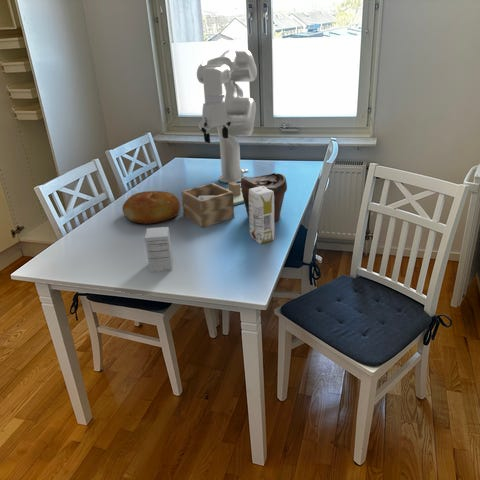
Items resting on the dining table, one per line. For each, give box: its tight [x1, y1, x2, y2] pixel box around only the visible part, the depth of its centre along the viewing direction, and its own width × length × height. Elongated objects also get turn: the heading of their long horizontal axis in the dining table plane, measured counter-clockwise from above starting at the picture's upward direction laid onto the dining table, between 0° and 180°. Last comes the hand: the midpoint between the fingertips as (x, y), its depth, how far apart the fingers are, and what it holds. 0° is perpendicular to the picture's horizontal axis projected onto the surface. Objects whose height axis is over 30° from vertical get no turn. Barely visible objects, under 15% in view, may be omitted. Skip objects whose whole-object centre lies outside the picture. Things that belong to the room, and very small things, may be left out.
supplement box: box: [144, 226, 174, 273], centre depth 144 cm, size 7×7×13 cm
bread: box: [121, 190, 181, 225], centre depth 184 cm, size 23×23×10 cm
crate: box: [180, 182, 235, 229], centre depth 180 cm, size 15×15×11 cm
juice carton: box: [248, 186, 275, 245], centre depth 158 cm, size 8×9×19 cm
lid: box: [226, 182, 244, 206], centre depth 199 cm, size 17×17×6 cm
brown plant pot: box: [240, 173, 288, 223], centre depth 175 cm, size 18×20×18 cm
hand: (216, 140), depth 191 cm, fingers open, 9 cm apart
